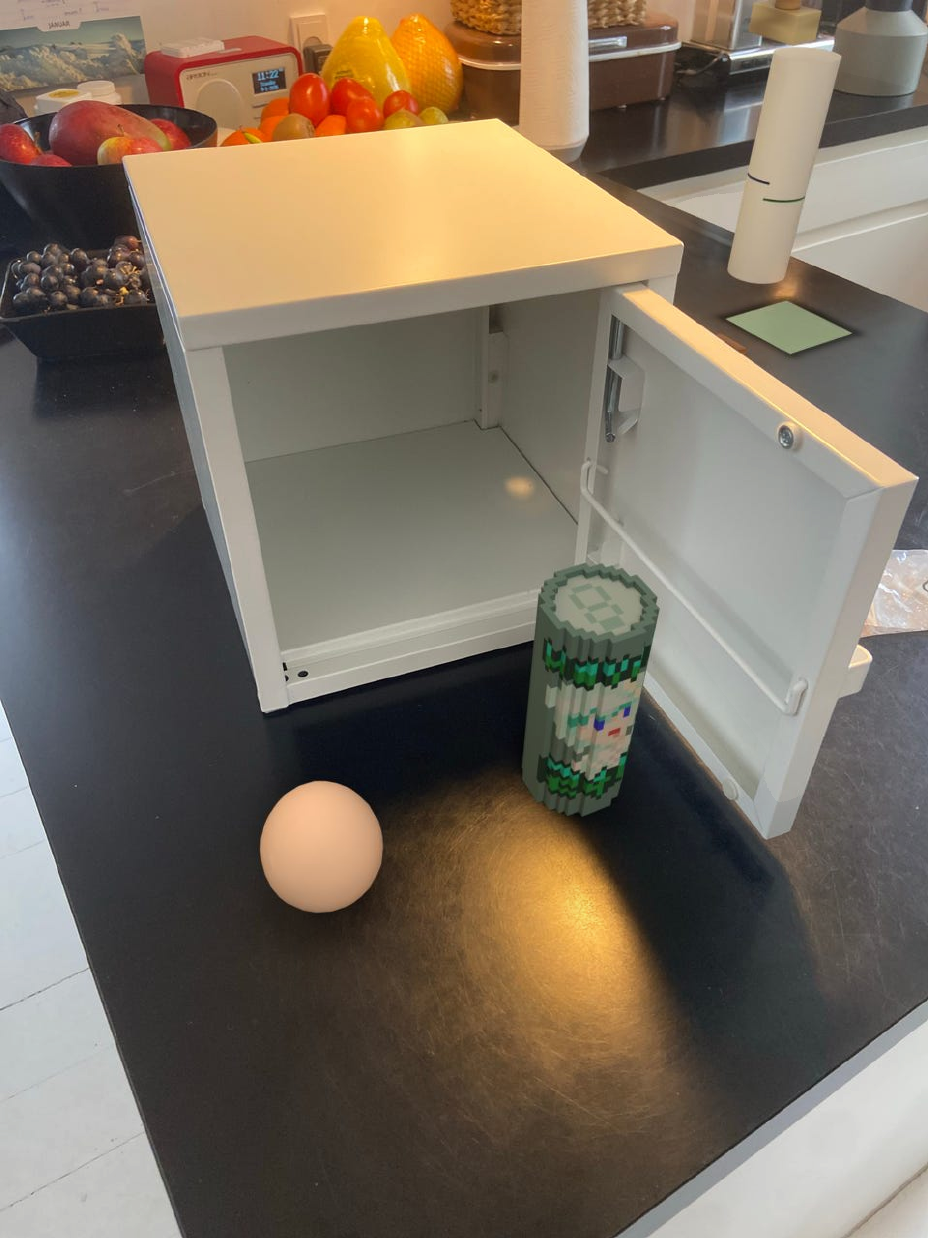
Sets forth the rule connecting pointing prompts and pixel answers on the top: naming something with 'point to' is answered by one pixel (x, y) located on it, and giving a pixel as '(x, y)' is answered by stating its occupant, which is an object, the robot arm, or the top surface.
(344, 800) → the egg
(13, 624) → the top surface
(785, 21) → the mallet
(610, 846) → the top surface
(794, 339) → the flat green square plate
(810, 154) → the cylindrical container
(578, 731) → the can
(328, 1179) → the top surface
